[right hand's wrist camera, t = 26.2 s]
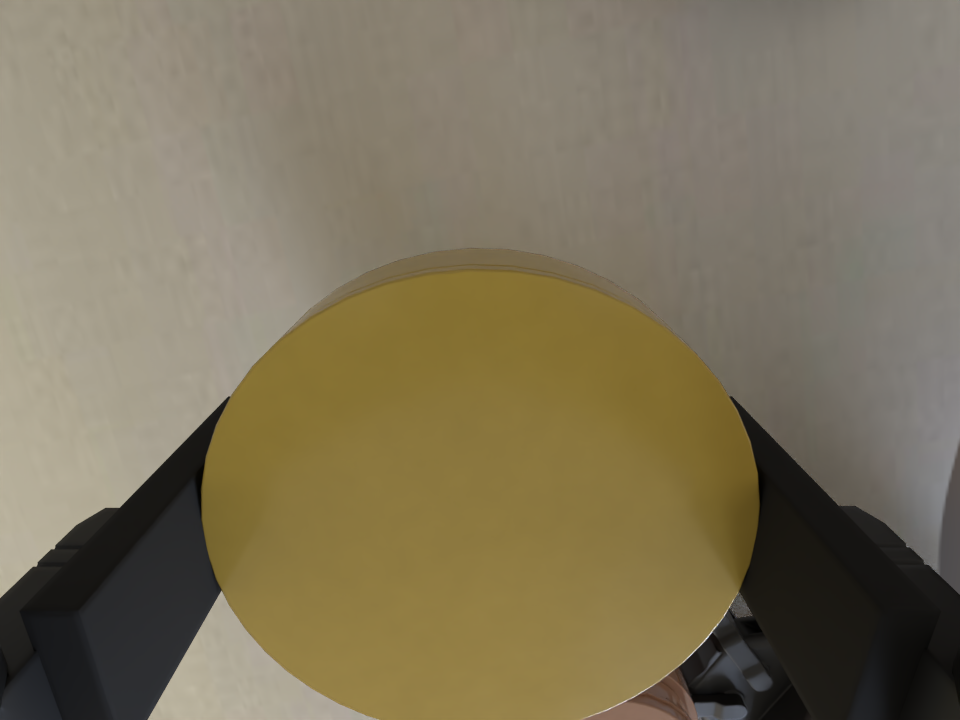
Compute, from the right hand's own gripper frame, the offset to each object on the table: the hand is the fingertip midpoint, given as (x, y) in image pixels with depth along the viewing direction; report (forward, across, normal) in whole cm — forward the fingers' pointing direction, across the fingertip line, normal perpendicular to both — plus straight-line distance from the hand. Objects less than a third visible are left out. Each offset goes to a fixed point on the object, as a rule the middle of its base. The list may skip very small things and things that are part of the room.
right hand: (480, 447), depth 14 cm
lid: (-3, 0, 0) cm, 3 cm away
